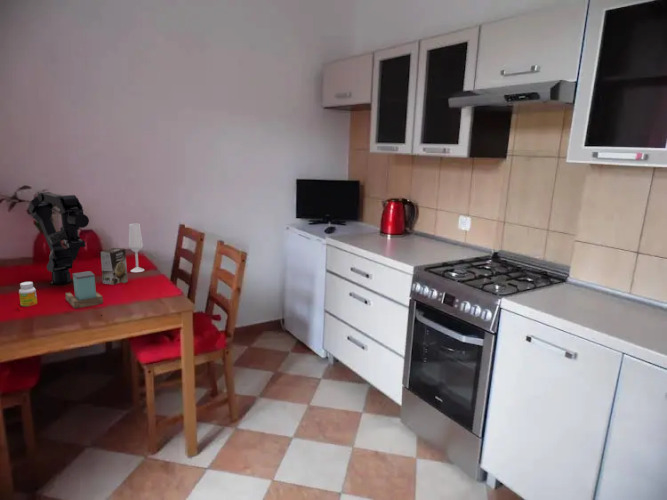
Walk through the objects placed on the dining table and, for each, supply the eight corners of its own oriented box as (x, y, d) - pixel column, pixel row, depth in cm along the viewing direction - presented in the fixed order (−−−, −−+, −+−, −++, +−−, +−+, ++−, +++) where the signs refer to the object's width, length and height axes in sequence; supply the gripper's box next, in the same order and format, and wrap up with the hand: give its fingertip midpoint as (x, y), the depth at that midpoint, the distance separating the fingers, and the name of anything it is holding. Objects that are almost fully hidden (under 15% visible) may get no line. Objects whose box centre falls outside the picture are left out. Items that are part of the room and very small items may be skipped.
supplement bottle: (20, 310, 167) (16, 286, 165) (22, 305, 172) (19, 281, 170) (36, 308, 170) (33, 284, 168) (38, 303, 175) (35, 280, 172)
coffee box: (115, 287, 197) (112, 252, 193) (102, 286, 198) (99, 251, 195) (128, 281, 206) (126, 248, 202) (116, 280, 207) (113, 247, 203)
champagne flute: (131, 272, 219) (127, 225, 214) (129, 269, 225) (126, 223, 219) (145, 271, 223) (142, 225, 217) (143, 268, 228) (140, 222, 223)
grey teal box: (75, 302, 174) (72, 273, 171) (92, 299, 178) (89, 270, 176) (79, 306, 170) (76, 277, 167) (97, 303, 174) (94, 274, 171)
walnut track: (64, 302, 177) (63, 293, 176) (94, 297, 184) (93, 288, 183) (74, 312, 167) (73, 302, 167) (104, 306, 175) (104, 296, 174)
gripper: (42, 223, 188) (46, 258, 192) (53, 230, 175) (57, 267, 179) (71, 220, 196) (75, 254, 200) (84, 227, 183) (87, 263, 187)
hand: (73, 259), depth 191 cm, fingers closed
